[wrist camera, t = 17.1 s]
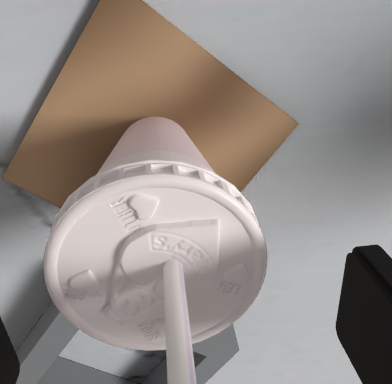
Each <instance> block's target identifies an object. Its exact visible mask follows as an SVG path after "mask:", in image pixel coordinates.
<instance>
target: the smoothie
mask: <svg viewBox="0 0 392 384" xmlns="http://www.w3.org/2000/svg"><path fill="white" fill-rule="evenodd" d="M266 268H267V248H266V244H265V240H264V237H263V234H262V231H261V229H260V225H259V223H258V220H257V218H256V216H255V213H254V211H253V209H252V206H251V204H250V203H249V202H248V201H247V200H246V199H245V197H244V196H243V195H242V194H241V193H240V192H239V190H238V189H237V188H236V187H235V186H234V185H233V184H231V183H230V182H228V181H227V180H225V179H223V178H222V177H220V176H219V175H217V174H216V173H215V172H214V171H213V169H212V168H211V167H210V165H209V164H208V162H207V161H206V160H205V158H204V157H203V156H202V154H201V153H200V151H199V150H198V149H197V147H196V146H195V144H194V143H193V142H192V140H191V139H190V138H189V136H188V135H187V133H186V132H185V131H184V130H183V128H182V127H181V126H180V125H178V124H177V123H176V122H174V121H172V120H170V119H167V118H164V117H157V116H153V117H146V118H143V119H140V120H138V121H136V122H135V123H133V124H132V125H131V126H129V128H128V129H127V130H126V131H125V133H124V134H123V136H122V137H121V138H120V140H119V141H118V143H117V144H116V146H115V147H114V149H113V150H112V152H111V153H110V155H109V156H108V158H107V159H106V161H105V162H104V164H103V165H102V167H101V168H100V170H99V171H98V173H97V174H96V176H93V177H91V178H90V179H89V180H88V181H86V182H85V183H84V184H83V185H82V186H80V187H79V188H78V189H77V190H76V191H74V192H73V193H72V194H71V195H70V196H68V198H67V200H66V201H65V203H64V204H63V206H62V207H61V209H60V210H59V212H58V213H57V215H56V216H55V218H54V221H53V224H52V228H51V232H50V236H49V239H48V242H47V245H46V248H45V253H44V259H43V272H44V279H45V284H46V287H47V290H48V293H49V295H50V297H51V299H52V301H53V302H54V304H55V305H56V307H57V308H58V310H59V311H60V312H61V313H62V315H63V316H64V317H65V318H66V319H67V320H68V321H69V322H71V323H72V324H73V325H74V326H75V327H77V328H78V329H80V330H81V331H83V332H84V333H86V334H88V335H89V336H91V337H93V338H95V339H98V340H100V341H103V342H105V343H107V344H110V345H114V346H118V347H123V348H127V349H135V350H145V351H150V350H166V359H167V382H168V384H197V382H196V374H195V365H194V357H193V349H192V344H194V343H197V342H201V341H203V340H205V339H207V338H209V337H211V336H214V335H216V334H218V333H219V332H221V331H222V330H224V329H226V328H227V327H228V326H230V325H231V324H233V323H234V322H235V321H236V320H237V319H238V318H240V317H241V316H242V315H243V314H244V313H245V311H246V310H247V309H248V308H249V307H250V305H251V304H252V303H253V301H254V300H255V298H256V297H257V295H258V293H259V291H260V289H261V287H262V284H263V282H264V278H265V274H266Z"/></svg>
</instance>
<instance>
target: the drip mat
mask: <svg viewBox="0 0 392 384" xmlns="http://www.w3.org/2000/svg"><path fill="white" fill-rule="evenodd" d="M153 116H157V117H164V118H167V119H170V120H172V121H174V122H176V123H177V124H178V125H180V126H181V127H182V128H183V130H184V131H185V132H186V133H187V135H188V136H189V138H190V139H191V140H192V142H193V143H194V144H195V146H196V147H197V149H198V150H199V151H200V153H201V154H202V156H203V157H204V158H205V160H206V161H207V162H208V164H209V165H210V167H211V168H212V169H213V171H214V172H215V173H216V174H217V175H219V176H220V177H222V178H223V179H225V180H227V181H228V182H230V183H231V184H233V185H234V186H235V187H236V188H237V189H238V190H239V192H241V191H242V190H243V189H244V188H245V187H246V185H247V184H248V183H249V182H250V181H251V180H252V178H253V177H254V176H255V175H256V174H257V172H258V171H259V170H260V169H261V168H262V167H263V165H264V164H265V163H266V162H267V161H268V159H269V158H270V157H271V156H272V155H273V154H274V152H275V151H276V150H277V149H278V148H279V147H280V145H281V144H282V143H283V142H284V141H285V139H286V138H287V137H288V136H289V135H290V134H291V132H292V131H293V130H294V129H295V128H296V126H297V125H298V123H297V122H296V121H295V120H294V119H292V118H291V117H290V116H288V115H287V114H286V113H285V112H283V111H282V110H281V109H280V108H278V107H277V106H276V105H274V104H273V103H272V102H271V101H269V100H268V99H267V98H266V97H264V96H263V95H262V94H260V93H259V92H258V91H257V90H255V89H254V88H253V87H252V86H250V85H249V84H248V83H246V82H245V81H244V80H243V79H241V78H240V77H239V76H238V75H236V74H235V73H234V72H232V71H231V70H230V69H229V68H227V67H226V66H225V65H224V64H222V63H221V62H220V61H218V60H217V59H216V58H215V57H213V56H212V55H211V54H210V53H208V52H207V51H206V50H204V49H203V48H202V47H201V46H199V45H198V44H197V43H196V42H194V41H193V40H192V39H190V38H189V37H188V36H187V35H185V34H184V33H183V32H182V31H180V30H179V29H178V28H177V27H175V26H174V25H173V24H171V23H170V22H169V21H168V20H166V19H165V18H164V17H163V16H161V15H160V14H159V13H157V12H156V11H155V10H154V9H152V8H151V7H150V6H149V5H147V4H146V3H145V2H143V1H142V0H100V1H99V3H98V5H97V7H96V9H95V10H94V12H93V14H92V16H91V18H90V19H89V21H88V23H87V25H86V27H85V29H84V30H83V32H82V34H81V36H80V38H79V39H78V41H77V43H76V45H75V47H74V48H73V50H72V52H71V54H70V56H69V57H68V59H67V61H66V63H65V65H64V67H63V68H62V70H61V72H60V74H59V76H58V77H57V79H56V81H55V83H54V85H53V86H52V88H51V90H50V92H49V94H48V95H47V97H46V99H45V101H44V103H43V105H42V106H41V108H40V110H39V112H38V114H37V115H36V117H35V119H34V121H33V123H32V124H31V126H30V128H29V130H28V132H27V133H26V135H25V137H24V139H23V141H22V142H21V144H20V146H19V148H18V150H17V152H16V153H15V155H14V157H13V159H12V161H11V162H10V164H9V166H8V168H7V170H6V171H5V173H4V175H3V177H2V179H4V180H6V181H8V182H10V183H12V184H14V185H16V186H18V187H20V188H22V189H24V190H26V191H28V192H30V193H32V194H34V195H36V196H38V197H40V198H42V199H44V200H46V201H48V202H50V203H52V204H54V205H56V206H58V207H60V208H61V207H62V206H63V204H64V203H65V201H66V200H67V198H68V196H70V195H71V194H72V193H73V192H74V191H76V190H77V189H78V188H79V187H80V186H82V185H83V184H84V183H85V182H86V181H88V180H89V179H90V178H91V177H93V176H96V174H97V173H98V171H99V170H100V168H101V167H102V165H103V164H104V162H105V161H106V159H107V158H108V156H109V155H110V153H111V152H112V150H113V149H114V147H115V146H116V144H117V143H118V141H119V140H120V138H121V137H122V136H123V134H124V133H125V131H126V130H127V129H128V128H129V126H131V125H132V124H133V123H135V122H136V121H138V120H140V119H143V118H146V117H153Z"/></svg>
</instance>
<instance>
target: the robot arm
mask: <svg viewBox="0 0 392 384" xmlns="http://www.w3.org/2000/svg"><path fill="white" fill-rule="evenodd" d="M336 332H337V335H338V338H339V340H340V342H341V344H342V346H343V348H344V350H345V352H346V353H347V355H348V357H349V359H350V361H351V363H352V365H353V367H354V368H355V370H356V372H357V374H358V376H359V378H360V380H361V382H362V384H392V258H391V257H390V256H389V255H388V254H387V253H386V252H385V251H384V250H383V249H382V248H381V247H380V246H379V245H369V246H359V247H355V248H354V249H353V251H352V253H349V254H348V255H347V257H346V263H345V270H344V276H343V283H342V289H341V295H340V302H339V308H338V314H337V321H336ZM19 372H20V362H19V359H18V357H17V355H16V352H15V350H14V348H13V345H12V343H11V341H10V338H9V336H8V334H7V332H6V329H5V327H4V325H3V322H2V320H1V318H0V384H16V382H17V379H18V376H19Z"/></svg>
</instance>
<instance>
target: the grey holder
mask: <svg viewBox="0 0 392 384" xmlns="http://www.w3.org/2000/svg"><path fill="white" fill-rule="evenodd" d="M78 330H79V329H78V328H77V327H75V326H74V325H73V324H72V323H71V322H69V321H68V320H67V319H66V318H65V317H64V316H63V315H62V313H61V312H60V311H59V310H58V308H57V307H56V305H55V304H54V302H53V301H52V302H51V304H50V305H49V307H48V308H47V309H46V311H45V312H44V314H43V315H42V316H41V318H40V319H39V321H38V322H37V323H36V325H35V326H34V328H33V329H32V330H31V332H30V333H29V335H28V336H27V337H26V339H25V340H24V342H23V343H22V344H21V346H20V347H19V349H18V350H17V351H16V355H17V357H18V359H19V362H20V372H19V376H18V379H17V382H16V384H138V383H135V382H132V381H129V380H126V379H123V378H120V377H117V376H114V375H111V374H108V373H106V372H103V371H100V370H97V369H94V368H91V367H88V366H85V365H82V364H79V363H76V362H73V361H70V360H67V359H65V358H62V357H59V356H58V355H59V354H60V353H61V352H62V350H63V349H64V348H65V346H66V345H67V344H68V343H69V341H70V340H71V339H72V338H73V336H74V335H75V334H76V332H77V331H78ZM192 349H193V357H194V365H195V374H196V382H197V384H205V383H206V382H207V381H208V380H209V379H210V378H211V377H212V376H213V375H214V374H215V373H216V372H217V371H218V370H219V369H220V368H221V367H222V366H223V365H224V364H225V363H226V362H228V361H229V360H230V359H231V358H232V357H233V356H234V355H235V354H236V353H237V352H238V351H239V347H238V343H237V339H236V335H235V331H234V327H233V324H231V325H230V326H228V327H227V328H226V329H224V330H222V331H221V332H219V333H218V334H216V335H214V336H211V337H209V338H207V339H205V340H203V341H201V342H197V343H194V344H192ZM141 384H168V382H167V359H166V358H165V359H164V360H163V361H162V362H161V363H160V364H159V365H158V366H157V367H156V368H155V369H154V370H153V371H152V372H151V373H150V374H149V375H148V377H147V378H146V379H145V380H144V381H143V382H142V383H141Z"/></svg>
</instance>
